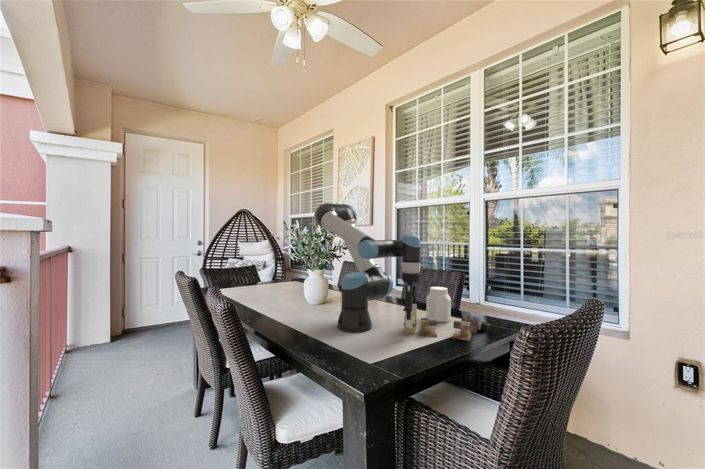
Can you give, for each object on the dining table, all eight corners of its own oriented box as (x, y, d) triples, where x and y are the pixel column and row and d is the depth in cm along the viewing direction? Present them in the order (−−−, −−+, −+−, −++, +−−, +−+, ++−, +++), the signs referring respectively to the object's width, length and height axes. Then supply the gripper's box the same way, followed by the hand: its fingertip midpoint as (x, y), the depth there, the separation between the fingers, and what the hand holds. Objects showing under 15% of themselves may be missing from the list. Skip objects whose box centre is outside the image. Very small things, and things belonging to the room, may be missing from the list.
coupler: (403, 332, 136) (404, 316, 136) (405, 329, 141) (405, 313, 141) (415, 334, 135) (415, 317, 135) (416, 330, 139) (416, 314, 139)
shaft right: (452, 338, 130) (452, 323, 130) (455, 332, 137) (455, 318, 137) (469, 340, 127) (469, 325, 127) (471, 335, 134) (472, 320, 134)
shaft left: (420, 335, 133) (420, 320, 133) (419, 329, 141) (420, 315, 141) (436, 336, 132) (437, 321, 132) (435, 330, 140) (435, 316, 140)
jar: (446, 316, 163) (447, 286, 162) (453, 322, 153) (454, 290, 153) (423, 316, 162) (424, 286, 162) (429, 322, 152) (429, 290, 152)
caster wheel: (484, 333, 144) (487, 337, 135) (458, 326, 147) (459, 329, 138) (487, 318, 145) (491, 321, 135) (461, 311, 148) (463, 313, 138)
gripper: (416, 276, 124) (416, 332, 124) (423, 269, 148) (423, 316, 148) (396, 275, 127) (397, 330, 127) (406, 268, 150) (406, 315, 150)
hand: (411, 322), depth 137 cm, fingers open, 13 cm apart
